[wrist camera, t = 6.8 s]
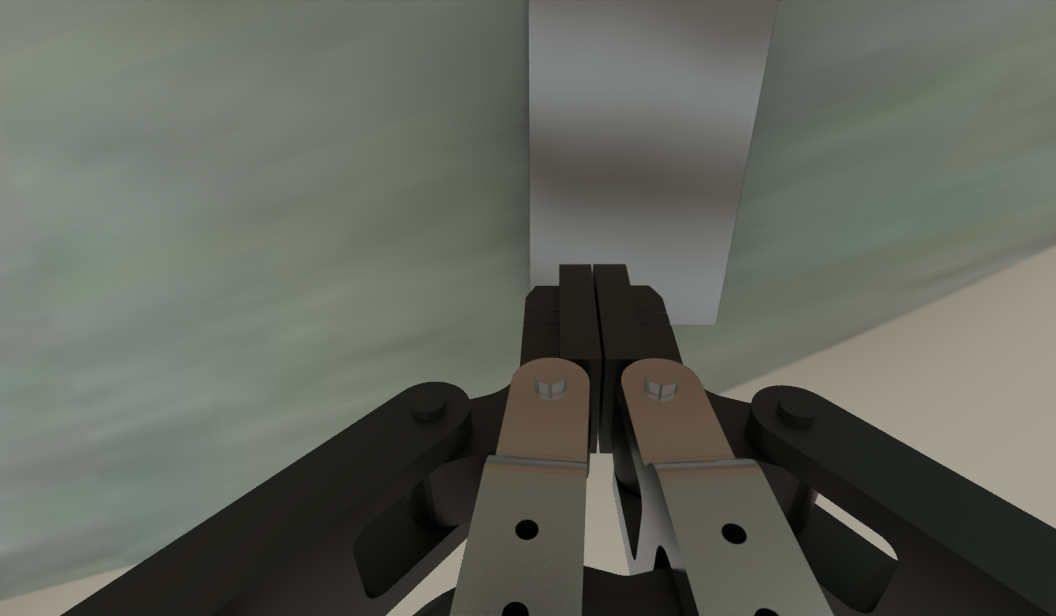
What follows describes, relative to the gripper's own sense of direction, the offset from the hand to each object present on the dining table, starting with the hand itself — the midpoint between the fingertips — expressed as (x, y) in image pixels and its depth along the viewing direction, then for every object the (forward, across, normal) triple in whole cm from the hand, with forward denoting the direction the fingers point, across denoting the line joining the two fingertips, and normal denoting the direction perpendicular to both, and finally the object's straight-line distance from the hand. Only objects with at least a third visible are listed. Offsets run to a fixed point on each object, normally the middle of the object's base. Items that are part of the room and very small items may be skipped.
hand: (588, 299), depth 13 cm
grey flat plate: (+11, -2, 0) cm, 11 cm away
